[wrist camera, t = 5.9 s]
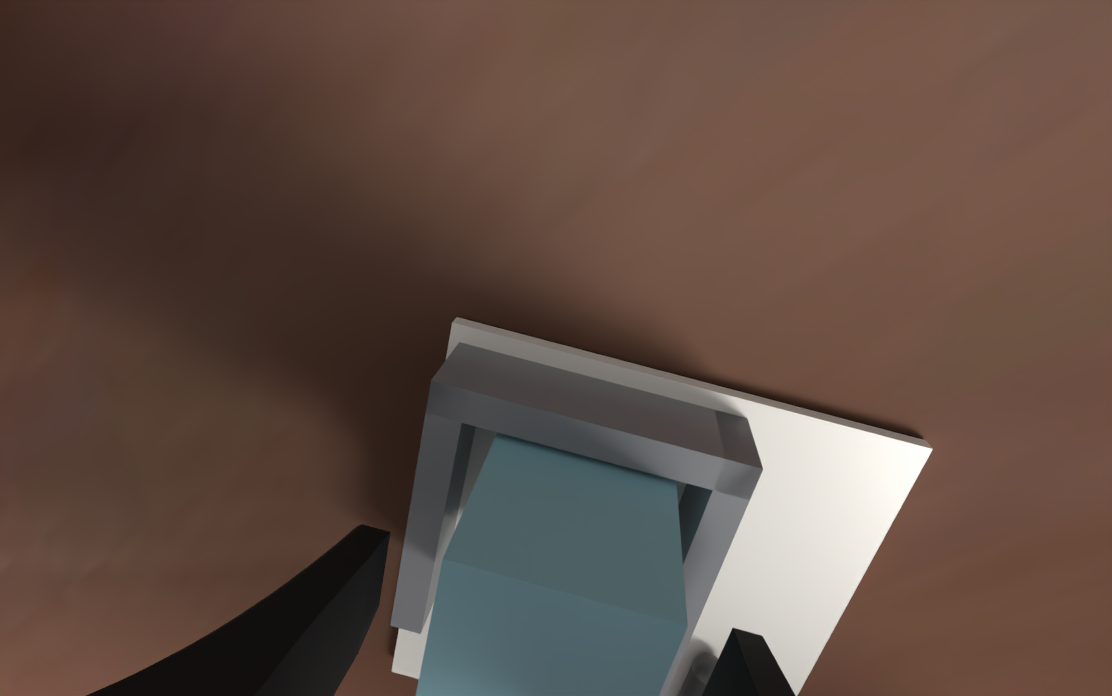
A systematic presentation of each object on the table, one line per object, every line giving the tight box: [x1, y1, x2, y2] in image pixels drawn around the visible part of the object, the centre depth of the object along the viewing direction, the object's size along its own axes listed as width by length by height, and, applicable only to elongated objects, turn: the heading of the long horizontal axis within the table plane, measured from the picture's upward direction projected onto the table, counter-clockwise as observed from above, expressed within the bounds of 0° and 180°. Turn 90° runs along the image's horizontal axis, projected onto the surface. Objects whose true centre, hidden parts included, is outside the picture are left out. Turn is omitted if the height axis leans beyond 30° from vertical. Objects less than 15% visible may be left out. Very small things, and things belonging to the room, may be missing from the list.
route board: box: [391, 317, 932, 696], centre depth 17 cm, size 12×12×2 cm
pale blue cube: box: [416, 432, 688, 696], centre depth 14 cm, size 5×4×6 cm
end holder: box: [390, 342, 763, 696], centre depth 16 cm, size 7×7×3 cm
